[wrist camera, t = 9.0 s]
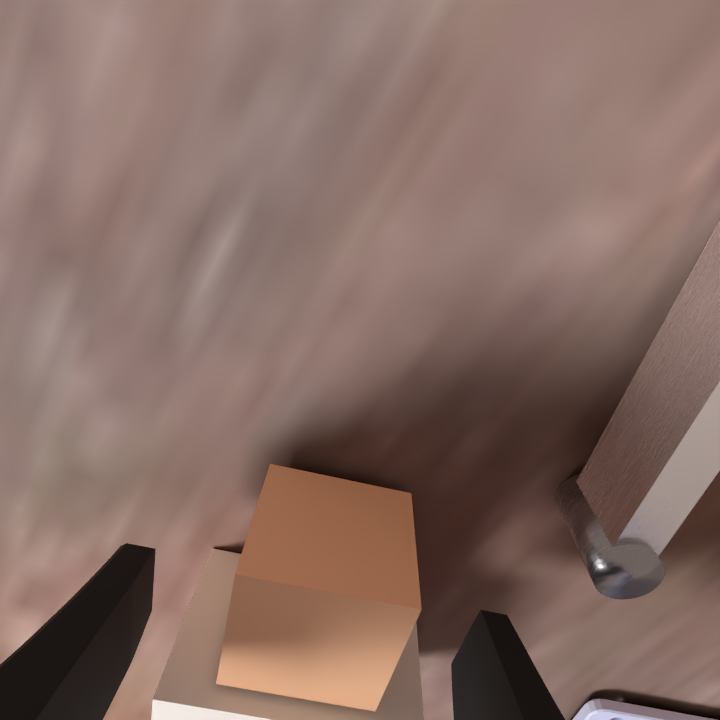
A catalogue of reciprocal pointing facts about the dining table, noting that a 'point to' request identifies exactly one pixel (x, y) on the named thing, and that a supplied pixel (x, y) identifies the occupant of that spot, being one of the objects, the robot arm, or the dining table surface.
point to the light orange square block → (322, 591)
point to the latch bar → (654, 445)
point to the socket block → (248, 707)
